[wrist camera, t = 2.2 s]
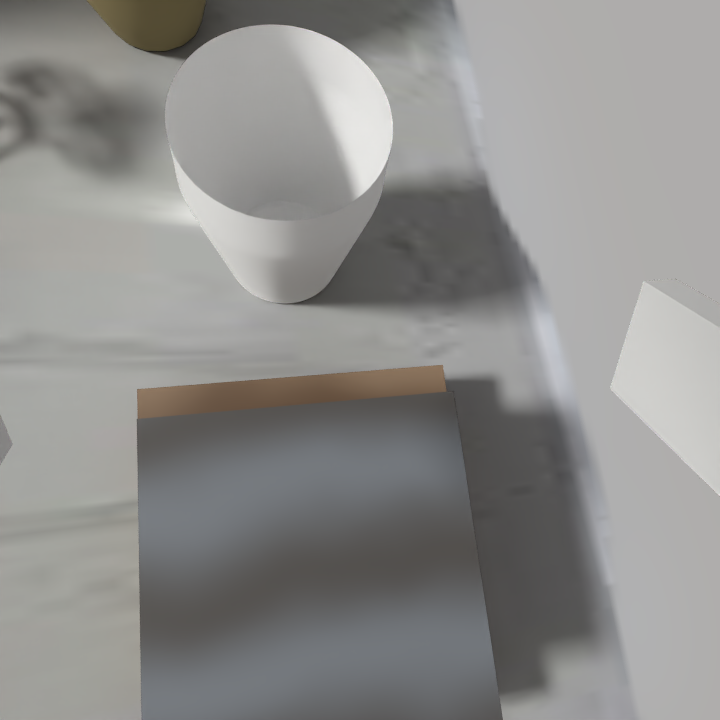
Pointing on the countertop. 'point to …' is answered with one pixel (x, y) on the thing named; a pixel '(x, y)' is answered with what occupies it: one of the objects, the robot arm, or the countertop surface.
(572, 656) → the countertop surface
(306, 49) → the cup
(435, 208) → the countertop surface
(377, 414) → the stepped display pedestal
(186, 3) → the squeeze bottle
